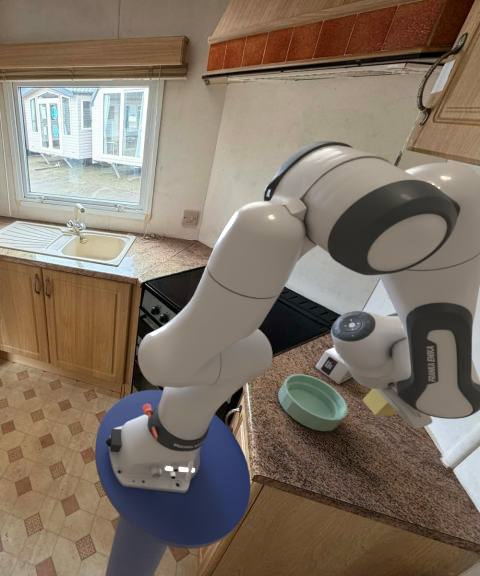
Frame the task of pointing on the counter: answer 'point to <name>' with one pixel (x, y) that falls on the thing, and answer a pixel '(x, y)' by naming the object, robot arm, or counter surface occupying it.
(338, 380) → the container
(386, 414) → the butter
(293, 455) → the counter surface
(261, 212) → the robot arm
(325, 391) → the bowl
